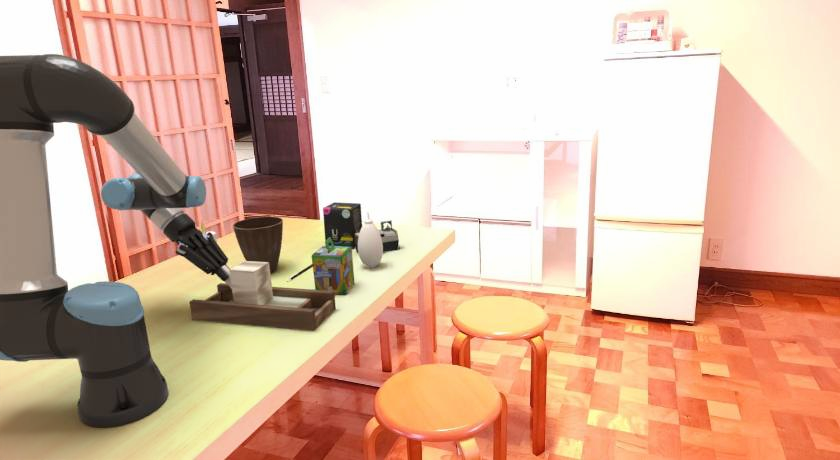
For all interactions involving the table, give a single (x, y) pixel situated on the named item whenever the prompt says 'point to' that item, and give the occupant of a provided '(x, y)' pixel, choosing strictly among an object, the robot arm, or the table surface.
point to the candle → (208, 231)
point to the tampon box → (342, 223)
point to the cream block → (251, 283)
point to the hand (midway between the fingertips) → (238, 286)
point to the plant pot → (260, 239)
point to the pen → (300, 272)
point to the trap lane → (268, 308)
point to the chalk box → (333, 268)
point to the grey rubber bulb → (370, 244)
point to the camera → (385, 238)
